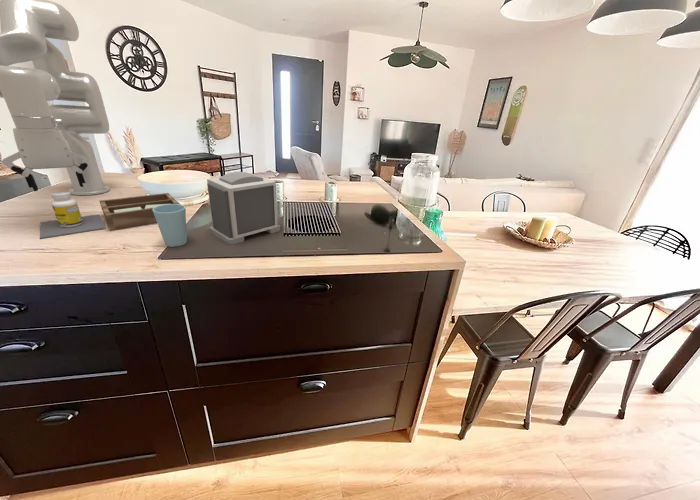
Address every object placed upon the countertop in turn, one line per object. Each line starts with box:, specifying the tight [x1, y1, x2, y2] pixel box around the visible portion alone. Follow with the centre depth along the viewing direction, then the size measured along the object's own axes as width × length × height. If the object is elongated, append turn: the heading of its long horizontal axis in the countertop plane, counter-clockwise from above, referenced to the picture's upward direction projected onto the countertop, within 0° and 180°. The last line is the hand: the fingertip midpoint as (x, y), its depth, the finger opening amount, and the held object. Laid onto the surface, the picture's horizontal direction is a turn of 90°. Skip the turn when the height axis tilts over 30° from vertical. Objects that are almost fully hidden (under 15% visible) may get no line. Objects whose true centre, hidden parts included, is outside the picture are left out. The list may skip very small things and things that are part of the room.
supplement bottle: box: [50, 190, 83, 227], centre depth 86 cm, size 5×5×10 cm
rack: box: [99, 192, 182, 232], centre depth 97 cm, size 16×20×5 cm
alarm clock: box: [206, 171, 281, 245], centre depth 91 cm, size 18×13×18 cm
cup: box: [153, 203, 188, 248], centre depth 81 cm, size 8×8×10 cm
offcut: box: [114, 207, 142, 213], centre depth 92 cm, size 4×7×4 cm, turn 132°
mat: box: [39, 213, 106, 240], centre depth 88 cm, size 14×14×1 cm
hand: (59, 187), depth 84 cm, fingers open, 9 cm apart
